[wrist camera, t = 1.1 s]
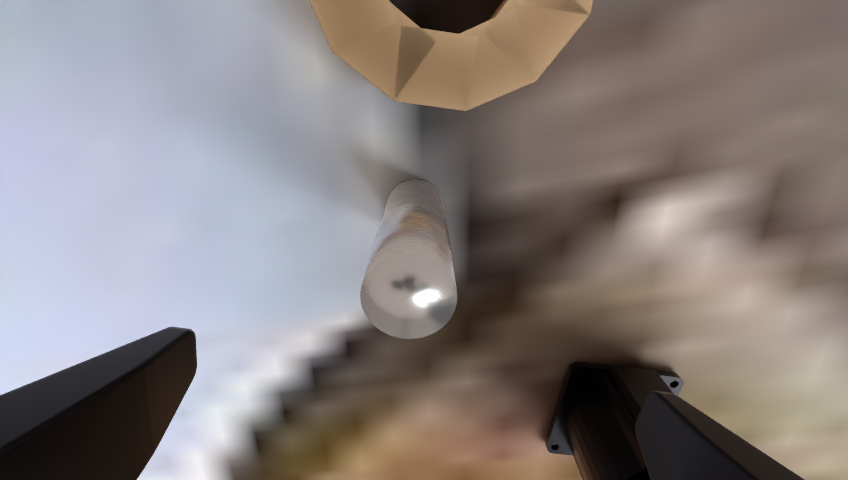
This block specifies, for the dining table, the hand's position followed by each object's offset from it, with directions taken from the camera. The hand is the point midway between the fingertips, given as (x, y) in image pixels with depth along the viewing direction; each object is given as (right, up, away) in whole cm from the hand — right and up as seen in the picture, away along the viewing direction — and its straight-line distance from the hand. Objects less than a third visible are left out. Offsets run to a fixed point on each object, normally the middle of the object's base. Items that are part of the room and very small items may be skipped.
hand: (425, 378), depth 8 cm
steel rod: (0, +4, +12) cm, 13 cm away
